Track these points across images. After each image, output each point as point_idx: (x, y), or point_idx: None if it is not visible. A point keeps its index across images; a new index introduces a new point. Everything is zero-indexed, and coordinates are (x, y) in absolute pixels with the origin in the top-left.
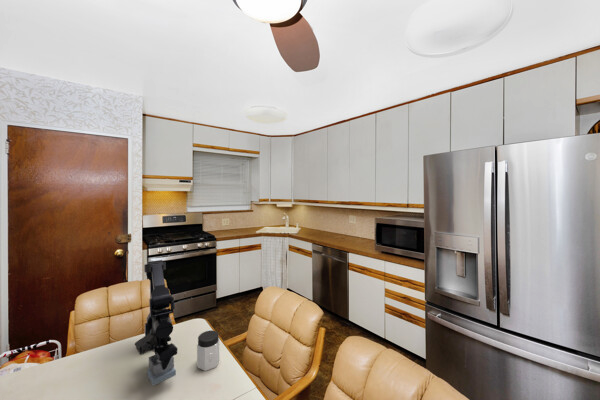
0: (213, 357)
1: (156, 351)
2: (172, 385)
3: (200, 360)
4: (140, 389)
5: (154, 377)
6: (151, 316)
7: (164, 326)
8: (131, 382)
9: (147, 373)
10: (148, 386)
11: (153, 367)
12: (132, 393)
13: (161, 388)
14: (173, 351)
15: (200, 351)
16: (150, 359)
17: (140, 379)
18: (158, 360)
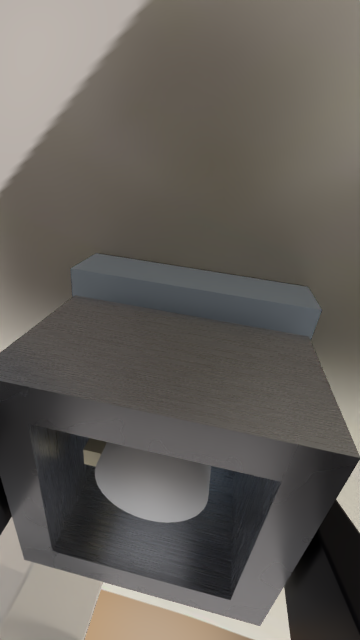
0: None
1: (331, 608)
2: (3, 343)
3: (6, 549)
4: (131, 148)
5: (108, 299)
6: None
7: None
8: (348, 109)
9: (290, 291)
10: (117, 223)
11: (16, 358)
12: (130, 48)
13: (18, 283)
14: None
15: None
16: (240, 439)
17: (295, 211)
18: (160, 466)
